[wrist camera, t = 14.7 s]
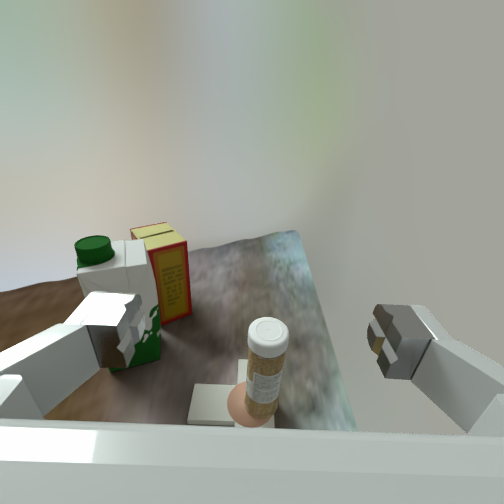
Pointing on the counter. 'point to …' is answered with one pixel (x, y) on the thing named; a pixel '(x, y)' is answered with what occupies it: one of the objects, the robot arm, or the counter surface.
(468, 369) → the robot arm
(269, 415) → the sprinkles bottle
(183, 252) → the baking soda box
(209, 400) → the tee board
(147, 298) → the milk carton
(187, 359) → the counter surface
